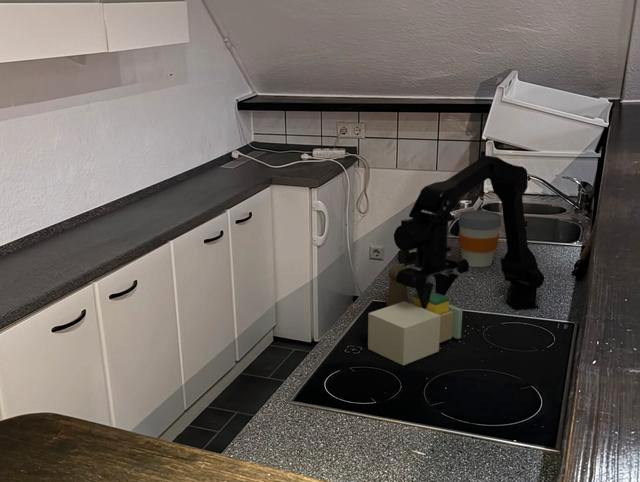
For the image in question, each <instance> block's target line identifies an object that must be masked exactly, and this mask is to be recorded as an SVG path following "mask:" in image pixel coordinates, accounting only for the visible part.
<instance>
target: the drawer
mask: <svg viewBox="0 0 640 482" xmlns="http://www.w3.org/2000/svg"><path fill="white" fill-rule="evenodd" d="M439 315H441V318H440V338H439V344H441V343H443V342H446V341H448V340H451V339H452V338H453V339H457V340H460V339H461V338H462V327H463V325H462V323H463V309H462V308H460V307H457V306H454V305H451V304H449V311H448V312H445V313H442V314H439Z"/></svg>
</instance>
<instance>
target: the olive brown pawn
mask: <svg viewBox="0 0 640 482" xmlns="http://www.w3.org/2000/svg"><path fill="white" fill-rule="evenodd" d="M407 268H408V266H404V264H393V265H391V266H390V267H389V269H388V276H389V278H390V279H389V285H388V293H387V296H386V297H387V298H386V303H385V304H386V307H389V306H392V305H395V304H398V303H401V302H404V301H405V302H407V303H410V302H409V291H408V286H405V285H402V284H399V283H397V282H396V274H397V273H398V272H399V271H400V270H404V269H407Z"/></svg>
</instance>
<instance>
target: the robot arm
mask: <svg viewBox="0 0 640 482" xmlns="http://www.w3.org/2000/svg"><path fill="white" fill-rule="evenodd" d="M528 175H529V173H528V170H527V169H526V168H525V167H524V166H521V165H515V164H511V163H510V162H507V161H504V160H503V159H502V158H500V157H499V156H493V155H486V154H483V155H480V156H479V157H478V159H477V160H476V161H474V162H473V163H471V164H470V165H468V166H467V167H465V168H464V169H462V170H460V171H459V172H458V173H456V174H454V175H453V176H451V177H450V178H448V179H446V180H443V181H437V182H436V181H435V182H433V183H430V184H428V185H425V186H424V187H423V188H421V190H420V192H419V194H418V196H417V198H416V200H415V202H414V203H413V206H412V208H411V210H410V212H409V214H408V217H409V218H404V219H401V220H400V225H399V226H397V227H396V229H395V231H394V233H393V241H394V244H395V245H396V247H397V248H398V249H399V250H398V251H397V262H398V263H399V265H404V266H406V267H407V269H404V270H400V271H399V272H398V273H397V274H396V282H397V283H399V284H402V285H405V286H407V288H411V289H415V291H416V293H417V294H418V297H419V300H420V303H421V306H422V308H427V305H428V302H429V299H430V295H431V291H433V287H434V283H432V282H430V278H431V277H432V276H433V278H434V280H435V292H436V293H438V294H441V295H444V296H447V293H448V291H449V289H450V288H451V286H452V285H453V284H454V283H455V281H456V280H457V279H458V278H459V275H458V274H457V273H455V271H454V269H456V271H457V272H458V273H459V274H464V273H467V272H469V267H470V266H469V263H468V262H467V260H466V259H464V258H462V257H460V256H457V255H454V254H451V255H448V256H447V253H449V252H451V251H452V247H451V246H449V245H448V234H449V233H448V232H449V222H452V221H455V220H456V217H455V216H454V215H452V213H451V212H452V211H453V210H454V209H455V208H456V207H458V205H459V202H460V199H461V198H462V197H463V196H464V195H466V194H467V193H469V192H470V191H472V190H473V189H475V188H476V187H478V186H479V185H480V184H482V183H483V182H486V181H487V180H489V181H490V184H491V187H492V191H493V193H494V194H495V195H496V197H497V198H498V199H499V201H500V203H501V204H500V205H501V209H502V210H501V211H502V217H503V224H504V233H505V240H506V249H507V251H506V252H505V254H504V256H503V257H501V259H500V260H499V262H500V265H501V268H500V269H501V270H500V271H501V272H502V273H503V276H504V281H505V282H509V286H508V287H507V292H506V299H505V302H506V303H507V304H508V305H509V306H510V307H512V309H513V310H527V309H538V308H539V305H538V304H537V303H536V302H537V293H538V289H539V288H541V287H542V286H543V284H544V281H545V276H544V274H543V273H542V271H541V270H540V269H539V266H538V261H537V258H536V256H535V254H534V253H533V252H532V250H531V249H530V248H529V245H528V237H527V229H526V227H527V226H526V220H525V211H524V210H525V209H524V203H523V196H524V195H525V193H526V192H527V189H528V185H529V183H528V181H529V180H528V179H529V176H528ZM411 265H414V268H412V267H408V266H411ZM415 268H418V269H415ZM419 268H420V270H419Z"/></svg>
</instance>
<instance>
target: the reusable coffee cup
mask: <svg viewBox="0 0 640 482" xmlns="http://www.w3.org/2000/svg"><path fill="white" fill-rule="evenodd" d="M458 226H459V231H458V241H459V242H458V243H459V248H460V249H461V250H460V251H461V258H464V259H466V260H467V262H468V263H469V267H473V268H486V267H490V266H491V265H493V259H494V255H495V251H496V250H497V248H498V243H499V239H500V228H501V226H502V215H501V214H500V213H498V212H495V211H491V210H484V209H483V210H482V209H478V210H477V209H474V210H465V211H462V212H460V214H459V218H458Z"/></svg>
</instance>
